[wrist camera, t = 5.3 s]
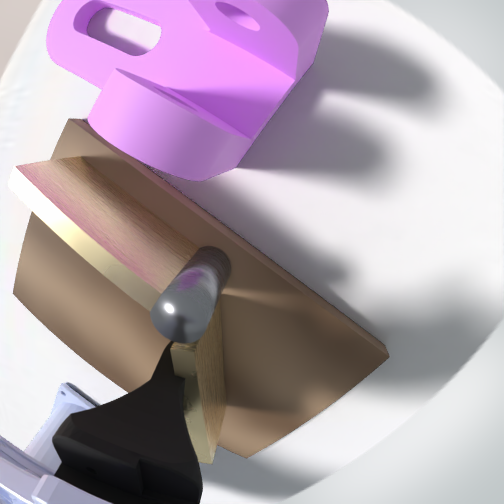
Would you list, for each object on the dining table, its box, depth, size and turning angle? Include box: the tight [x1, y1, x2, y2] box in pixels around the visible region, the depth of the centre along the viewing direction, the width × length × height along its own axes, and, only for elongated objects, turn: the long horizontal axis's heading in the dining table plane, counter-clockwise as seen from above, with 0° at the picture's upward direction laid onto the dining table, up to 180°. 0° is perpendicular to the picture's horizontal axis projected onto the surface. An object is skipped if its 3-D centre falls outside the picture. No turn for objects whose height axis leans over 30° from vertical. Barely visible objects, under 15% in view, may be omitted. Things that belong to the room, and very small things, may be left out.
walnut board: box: [13, 119, 389, 458], centre depth 15 cm, size 12×19×1 cm, turn 54°
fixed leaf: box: [9, 156, 231, 343], centre depth 10 cm, size 2×9×4 cm, turn 53°
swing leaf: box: [170, 299, 227, 464], centre depth 12 cm, size 1×7×4 cm, turn 179°
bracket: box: [46, 0, 329, 181], centre depth 8 cm, size 13×6×7 cm, turn 55°
